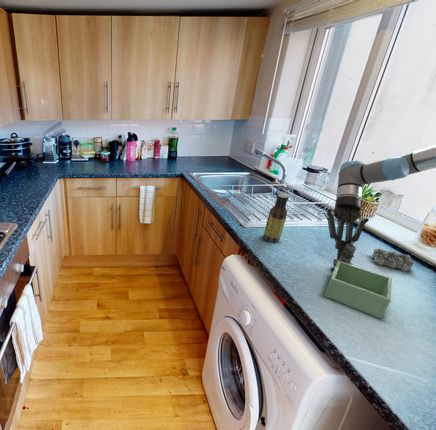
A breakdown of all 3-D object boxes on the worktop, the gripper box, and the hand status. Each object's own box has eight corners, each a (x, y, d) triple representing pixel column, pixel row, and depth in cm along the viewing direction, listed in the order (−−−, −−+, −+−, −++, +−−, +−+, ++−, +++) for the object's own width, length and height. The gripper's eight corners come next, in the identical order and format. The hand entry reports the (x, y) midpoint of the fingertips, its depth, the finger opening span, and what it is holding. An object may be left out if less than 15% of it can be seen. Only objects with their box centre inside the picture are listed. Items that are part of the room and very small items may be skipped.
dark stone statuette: (329, 265, 104) (341, 236, 99) (349, 270, 101) (362, 241, 96) (330, 273, 100) (342, 243, 95) (350, 279, 97) (364, 249, 92)
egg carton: (372, 263, 106) (377, 254, 104) (370, 254, 112) (374, 245, 110) (411, 273, 101) (416, 263, 99) (406, 263, 106) (411, 253, 105)
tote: (382, 294, 90) (391, 277, 87) (380, 318, 81) (391, 300, 78) (331, 276, 98) (338, 260, 95) (324, 295, 89) (331, 278, 86)
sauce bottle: (267, 233, 125) (279, 191, 117) (281, 239, 121) (295, 195, 112) (259, 238, 121) (271, 194, 113) (274, 244, 117) (288, 199, 109)
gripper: (364, 206, 109) (358, 265, 103) (323, 200, 114) (315, 255, 108) (375, 198, 102) (369, 261, 96) (331, 191, 107) (323, 251, 101)
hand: (341, 258), depth 102 cm, fingers closed
